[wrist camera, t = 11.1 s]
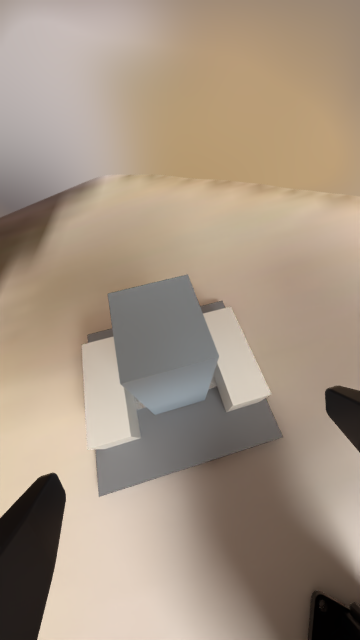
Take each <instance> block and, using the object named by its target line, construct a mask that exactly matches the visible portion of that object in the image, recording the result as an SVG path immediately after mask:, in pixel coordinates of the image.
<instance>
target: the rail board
mask: <svg viewBox="0 0 360 640" xmlns="http://www.w3.org/2000/svg"><path fill="white" fill-rule="evenodd" d="M200 308H201V310H202V313H203V315H204V318H205V321H206V323H207V326H208V328H209V331H210V334H211V336H212V339H213V341H214V344H215V347H216V349H217V352H218V354H219V358H218V361H217V364H216V368H215V371H214V374H213V377H212V380H211V383H210V386H209V389H208V392H207V395H206V398H205V400H204V401H200V402H197V403H194V404H190V405H187V406H183V407H180V408H177V409H173V410H170V411H167V412H163V413H160V414H157V415H154V414H153V413H152V412H151V411H150V410H149V409H148V408H147V407H145V406H144V405H143V404H142V403H141V402H140V401H139V400H138V399H136V398H135V397H134V396H133V395H132V394H131V393H130V392H129V391H127V390H126V389H125V388H124V387H123V386H122V385H121V384H120V379H119V372H118V365H117V358H116V351H115V343H114V336H113V329H108V330H104V331H100V332H96V333H92V334H88V335H87V336H88V343H86V344H82V363H83V381H84V399H85V418H86V436H87V450H94V449H96V463H97V477H98V491H99V497H100V496H103V495H106V494H109V493H112V492H115V491H118V490H122V489H125V488H128V487H131V486H134V485H137V484H140V483H143V482H146V481H149V480H152V479H156V478H159V477H162V476H165V475H168V474H171V473H174V472H177V471H180V470H183V469H186V468H189V467H193V466H196V465H199V464H202V463H205V462H208V461H211V460H214V459H217V458H220V457H223V456H227V455H230V454H233V453H236V452H239V451H242V450H245V449H248V448H251V447H254V446H257V445H260V444H264V443H267V442H270V441H273V440H276V439H279V438H282V437H283V436H282V434H281V431H280V429H279V427H278V425H277V422H276V420H275V418H274V416H273V413H272V411H271V409H270V407H269V404H268V402H267V400H266V397H268V396H269V395H271V391H270V389H269V387H268V385H267V383H266V381H265V379H264V376H263V374H262V372H261V370H260V368H259V366H258V363H257V361H256V359H255V357H254V355H253V353H252V351H251V348H250V346H249V344H248V342H247V340H246V338H245V335H244V333H243V331H242V329H241V327H240V325H239V322H238V320H237V318H236V316H235V314H234V312H233V310H232V307H227V308H225V306H224V304H223V301H219V302H215V303H211V304H207V305H203V306H200Z"/></svg>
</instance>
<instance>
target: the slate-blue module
mask: <svg viewBox="0 0 360 640" xmlns="http://www.w3.org/2000/svg"><path fill="white" fill-rule="evenodd" d="M108 300H109V307H110V315H111V322H112V329H113V336H114V343H115V351H116V358H117V365H118V372H119V379H120V384H121V385H122V386H123V387H124V388H125V389H126V390H127V391H129V392H130V393H131V394H132V395H133V396H134V397H135V398H136V399H138V400H139V401H140V402H141V403H142V404H143V405H144V406H145V407H147V408H148V409H149V410H150V411H151V412H152V413H153V414H154V415H157V414H160V413H163V412H167V411H170V410H173V409H177V408H180V407H183V406H187V405H190V404H194V403H197V402H200V401H204V400H205V398H206V395H207V392H208V389H209V386H210V383H211V380H212V377H213V374H214V371H215V368H216V364H217V361H218V358H219V354H218V352H217V349H216V347H215V344H214V341H213V339H212V336H211V334H210V331H209V328H208V326H207V323H206V321H205V318H204V315H203V313H202V310H201V308H200V305H199V302H198V300H197V297H196V295H195V292H194V289H193V287H192V284H191V282H190V279H189V276H188V275H184V276H179V277H175V278H171V279H167V280H163V281H158V282H154V283H150V284H146V285H142V286H138V287H133V288H129V289H125V290H121V291H117V292H112V293H108Z"/></svg>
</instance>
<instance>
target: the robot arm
mask: <svg viewBox="0 0 360 640" xmlns="http://www.w3.org/2000/svg"><path fill="white" fill-rule="evenodd" d="M325 401H326V411H327V413H328V415H329V417H330V418H331V419H332V420H333V421H334V423H335V424H336V425H337V426H338V427H339V428H340V430H341V431H342V432H343V433H344V434H345V436H346V437H347V438H348V439H349V440H350V441H351V443H352V444H353V445H354V446H355V447H356V448H357V450H358V451H359V452H360V391H358V390H354V389H350V388H346V387H342V386H334V387H331V388H328V389H326V391H325ZM65 502H66V494H65V490H64V488H63V486H62V484H61V482H60V480H59V478H58V476H57V474H55V473H50V474H46V475H43V476H41V477H39V478H38V479H37V480H36V481H35V482H34V483H33V484H32V485H31V486H30V487H29V488H28V489H27V490H26V491H25V493H24V494H23V495H22V496H21V497H20V498H19V499H18V500H17V501H16V502H15V503H14V504H13V505H12V506H11V507H10V508H9V509H8V511H7V512H6V513H5V514H4V515H3V516H2V517H1V518H0V640H37V638H38V634H39V630H40V626H41V622H42V618H43V614H44V610H45V605H46V601H47V597H48V593H49V589H50V585H51V581H52V577H53V572H54V568H55V562H56V557H57V551H58V545H59V539H60V533H61V527H62V520H63V514H64V508H65ZM320 600H324V607H323V608H320V607H319V602H320ZM308 640H360V605H359V604H357V603H355V602H353V603H351V604H350V607H348V606H346V605H344V604H343V603H341V602H339V601H337V600H335V599H334V598H332V597H330V596H328V595H326V594H325V593H323V592H321V591H315V592H314V593H313V595H312V600H311V611H310V622H309V632H308Z"/></svg>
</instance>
